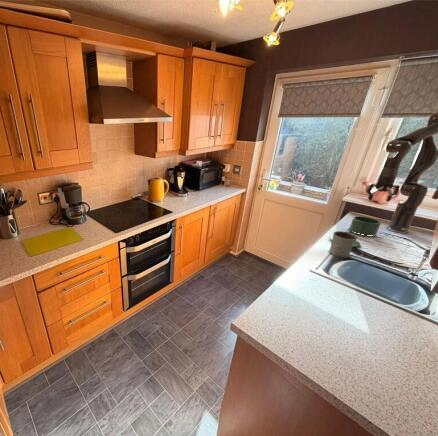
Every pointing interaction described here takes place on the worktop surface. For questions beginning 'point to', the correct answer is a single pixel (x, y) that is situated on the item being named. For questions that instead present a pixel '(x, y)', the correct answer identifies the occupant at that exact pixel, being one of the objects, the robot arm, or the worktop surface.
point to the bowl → (353, 245)
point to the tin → (364, 226)
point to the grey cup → (342, 244)
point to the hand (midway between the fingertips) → (378, 200)
